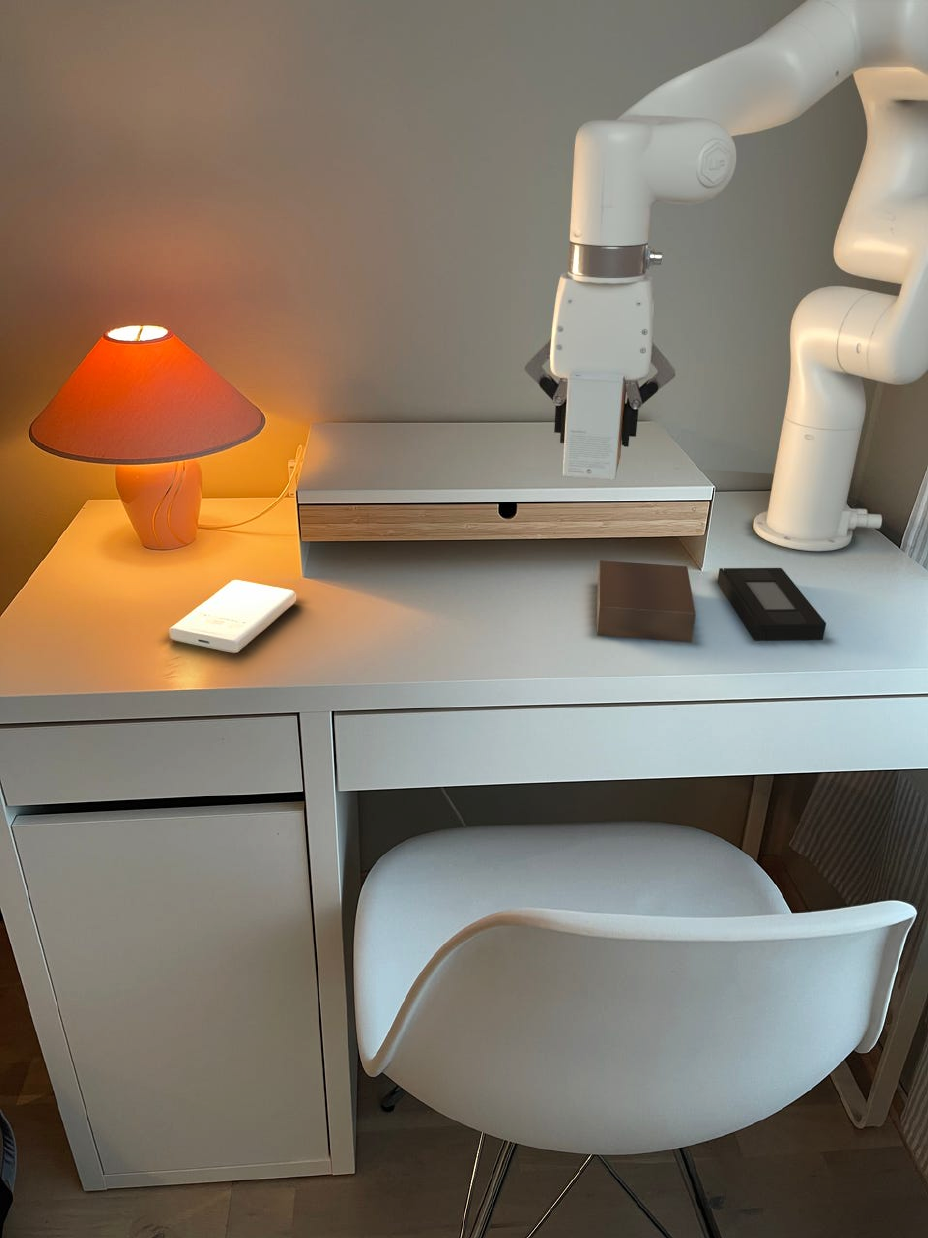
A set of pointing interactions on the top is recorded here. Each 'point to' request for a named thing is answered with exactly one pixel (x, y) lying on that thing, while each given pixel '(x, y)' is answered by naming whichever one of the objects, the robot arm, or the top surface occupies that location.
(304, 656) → the top surface
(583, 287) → the robot arm
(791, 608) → the vhs tape
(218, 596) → the hard drive
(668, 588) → the walnut block
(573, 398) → the small box
